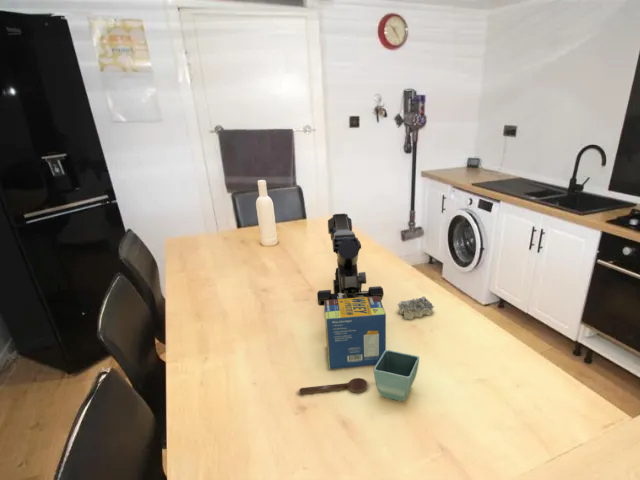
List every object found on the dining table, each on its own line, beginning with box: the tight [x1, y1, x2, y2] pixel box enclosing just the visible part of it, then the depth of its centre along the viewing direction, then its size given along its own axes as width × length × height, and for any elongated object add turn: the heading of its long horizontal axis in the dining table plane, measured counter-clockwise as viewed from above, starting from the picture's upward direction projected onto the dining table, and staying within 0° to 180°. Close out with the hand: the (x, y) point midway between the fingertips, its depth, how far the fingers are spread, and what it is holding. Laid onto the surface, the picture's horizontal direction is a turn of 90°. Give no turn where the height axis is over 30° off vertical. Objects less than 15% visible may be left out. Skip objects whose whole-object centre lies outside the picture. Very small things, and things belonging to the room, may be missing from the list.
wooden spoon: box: [298, 377, 368, 395], centre depth 100 cm, size 16×5×1 cm, turn 100°
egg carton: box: [397, 296, 435, 320], centre depth 134 cm, size 11×8×4 cm
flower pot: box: [373, 349, 420, 402], centre depth 97 cm, size 9×9×9 cm
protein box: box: [323, 296, 387, 370], centre depth 110 cm, size 10×15×16 cm
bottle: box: [255, 179, 279, 247], centre depth 192 cm, size 8×8×30 cm
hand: (353, 324), depth 115 cm, fingers closed, pressing on protein box
